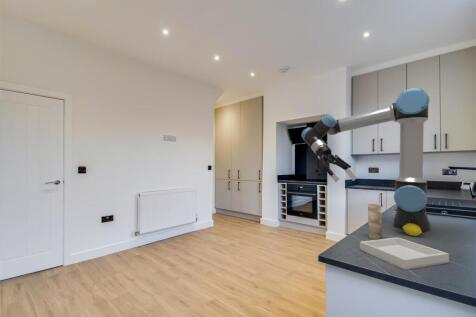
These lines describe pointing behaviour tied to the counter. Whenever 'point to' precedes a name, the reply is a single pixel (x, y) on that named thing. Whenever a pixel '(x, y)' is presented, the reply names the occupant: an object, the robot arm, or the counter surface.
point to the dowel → (375, 221)
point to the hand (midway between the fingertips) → (346, 179)
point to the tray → (404, 253)
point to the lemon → (412, 229)
